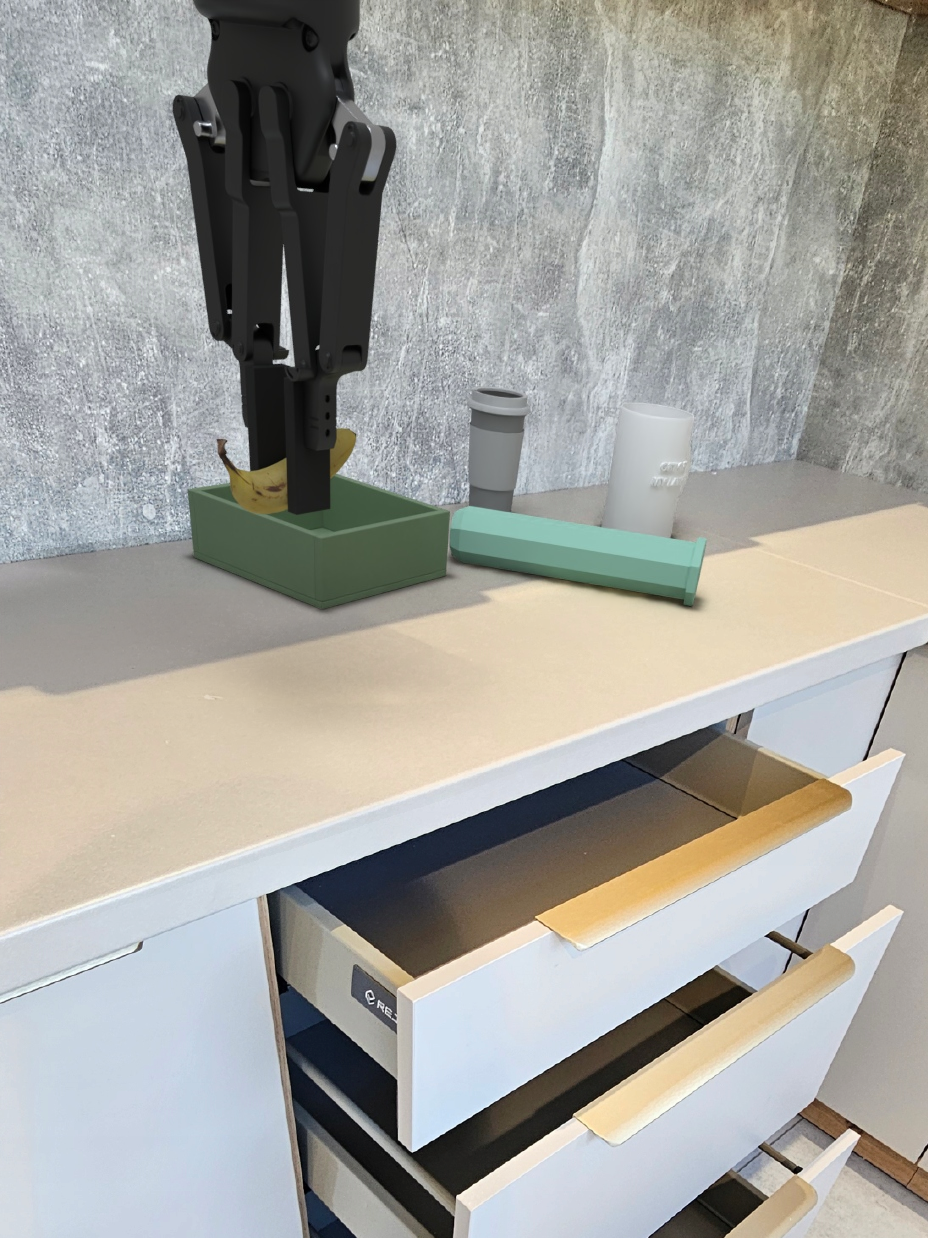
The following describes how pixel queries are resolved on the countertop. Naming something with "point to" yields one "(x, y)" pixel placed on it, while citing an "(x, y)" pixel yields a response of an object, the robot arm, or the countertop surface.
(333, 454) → the banana
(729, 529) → the countertop surface
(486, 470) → the cup
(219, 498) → the bin
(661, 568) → the container
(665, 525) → the mug
